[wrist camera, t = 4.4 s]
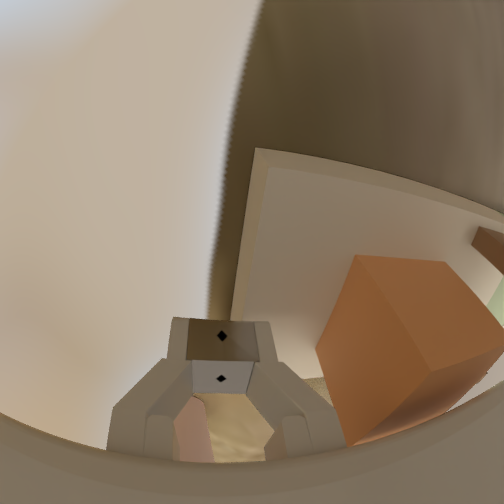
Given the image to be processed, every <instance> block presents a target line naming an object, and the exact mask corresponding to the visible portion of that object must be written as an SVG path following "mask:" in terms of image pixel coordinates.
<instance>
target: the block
mask: <svg viewBox="0 0 504 504" xmlns="http://www.w3.org/2000/svg"><path fill="white" fill-rule="evenodd" d="M315 351H316V354H317V357H318V360H319V363H320V366H321V369H322V372H323V375H324V378H325V381H326V384H327V388H328V391H329V394H330V397H331V400H332V403H333V406H334V408H335V409H336V412H337V415H338V418H339V421H340V425H341V428H342V431H343V434H344V438H345V441H346V444H347V447H351V446H355V445H358V444H362V443H366V442H369V441H373V440H376V439H379V438H382V437H386V436H389V435H392V434H394V433H397V432H400V431H403V430H406V429H408V428H411V427H413V426H416V425H419V424H421V423H423V422H426V421H428V420H430V419H433V418H435V417H437V416H439V415H442V414H444V413H445V412H446V411H447V410H449V409H450V408H451V407H452V406H453V405H454V404H455V403H456V402H457V401H458V400H460V399H461V398H462V397H463V396H464V395H465V394H466V393H467V392H468V391H469V390H470V389H471V388H472V387H473V386H474V385H475V384H476V383H477V382H478V381H479V380H480V379H481V378H482V376H483V375H484V374H485V373H486V372H487V371H488V370H489V369H490V367H492V365H493V364H494V363H495V362H496V361H497V360H498V358H499V357H500V356H501V355H502V353H503V352H504V328H503V327H502V326H501V324H500V323H499V322H498V321H497V319H496V318H495V317H494V316H493V314H492V313H491V312H490V311H489V309H488V308H487V307H486V306H485V305H484V304H483V302H482V301H481V300H480V299H479V298H478V297H477V295H476V294H475V293H474V292H473V291H472V290H471V289H470V288H469V286H468V285H467V284H466V283H465V282H464V281H463V280H462V279H461V278H460V277H459V276H458V275H457V274H456V273H455V272H454V270H453V269H452V268H451V267H450V266H449V265H448V264H447V263H446V262H442V261H430V260H418V259H406V258H393V257H381V256H368V255H355V256H354V259H353V262H352V264H351V267H350V269H349V272H348V275H347V277H346V280H345V282H344V285H343V287H342V290H341V292H340V294H339V297H338V299H337V302H336V304H335V306H334V309H333V311H332V313H331V315H330V318H329V320H328V322H327V324H326V327H325V329H324V331H323V333H322V335H321V337H320V340H319V342H318V344H317V346H316V348H315Z"/></svg>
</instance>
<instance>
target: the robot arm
mask: <svg viewBox="0 0 504 504" xmlns="http://www.w3.org/2000/svg"><path fill="white" fill-rule="evenodd" d="M193 393H230V394H246V396H247V397H248V398H249V400H250V401H251V402H252V403H253V405H254V406H255V407H256V409H257V410H258V411H259V412H260V414H261V415H262V416H263V417H264V418H265V420H266V421H267V422H268V423H269V425H270V426H271V427H272V428H273V429H274V431H275V432H274V433H273V435H272V436H271V438H270V439H269V441H268V442H267V444H266V445H265V447H264V451H265V458H266V461H254V462H231V463H208V462H185V461H180V446H179V442H178V438H177V435H176V431H175V427H174V422H173V421H174V420H175V419H176V417H177V416H178V415H179V413H180V412H181V410H182V409H183V408H184V406H185V405H186V403H187V402H188V401H189V399H190V398H191V396H192V395H193ZM0 504H504V380H503V381H501V382H500V383H498V384H496V385H495V386H493V387H492V388H490V389H488V390H487V391H485V392H483V393H482V394H480V395H478V396H477V397H475V398H473V399H471V400H469V401H468V402H466V403H464V404H462V405H460V406H458V407H456V408H454V409H452V410H450V411H448V412H446V413H444V414H442V415H439V416H437V417H435V418H433V419H430V420H428V421H426V422H423V423H421V424H419V425H416V426H413V427H411V428H408V429H406V430H403V431H400V432H397V433H394V434H392V435H389V436H386V437H382V438H379V439H376V440H373V441H369V442H366V443H362V444H358V445H355V446H351V447H347V444H346V441H345V438H344V434H343V431H342V428H341V425H340V421H339V418H338V415H337V412H336V409H335V408H334V407H333V406H331V405H330V404H329V403H328V402H327V401H326V400H325V399H323V398H322V397H321V396H320V395H319V394H318V393H317V392H316V391H314V390H313V389H312V388H311V387H310V386H309V385H308V384H307V383H306V382H304V381H303V380H302V379H301V378H300V377H299V376H298V375H297V374H296V373H295V372H294V371H293V370H291V369H290V368H289V367H288V366H287V365H286V364H285V363H284V362H278V357H277V353H276V348H275V344H274V339H273V335H272V330H271V326H270V323H269V322H268V321H229V320H221V321H220V320H207V319H195V318H190V319H189V318H180V317H173V319H172V323H171V331H170V338H169V345H168V353H167V359H164V358H162V359H161V360H160V361H159V362H158V363H157V364H156V365H155V366H154V367H153V368H152V369H151V370H150V371H149V372H148V373H147V374H146V375H145V376H144V377H143V378H142V379H141V380H140V381H139V382H138V383H137V384H136V385H135V386H134V387H133V388H132V389H131V390H130V391H129V392H128V393H127V394H126V395H125V396H124V397H123V398H122V399H121V400H120V401H119V402H118V403H117V404H116V405H115V406H114V407H113V410H112V416H111V422H110V427H109V434H108V440H107V447H106V450H103V449H99V448H94V447H91V446H87V445H83V444H80V443H76V442H73V441H70V440H67V439H63V438H60V437H57V436H54V435H52V434H49V433H46V432H43V431H41V430H38V429H36V428H33V427H31V426H28V425H26V424H24V423H21V422H19V421H17V420H15V419H12V418H10V417H8V416H6V415H4V414H2V413H0Z"/></svg>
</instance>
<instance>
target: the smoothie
mask: <svg viewBox="0 0 504 504" xmlns="http://www.w3.org/2000/svg"><path fill="white" fill-rule="evenodd" d="M173 422H174V427H175V431H176V435H177V438H178V442H179V446H180V461H185V462H208V463H215V461H214V456H213V451H212V446H211V441H210V436H209V430H208V425H207V419H206V413H205V407H204V403H203V402H202V401H201V400H200V399H198V398H196V397H193V396H191V398H190V399H189V401H188V402H187V403H186V405H185V406H184V408H183V409H182V410H181V412H180V413H179V415H178V416H177V417H176V419H175V420H174V421H173Z"/></svg>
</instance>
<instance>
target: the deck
mask: <svg viewBox="0 0 504 504" xmlns="http://www.w3.org/2000/svg"><path fill="white" fill-rule="evenodd" d="M355 255H368V256H381V257H393V258H406V259H418V260H430V261H442V262H446V263H447V264H448V265H449V266H450V267H451V268H452V269H453V270H454V272H455V273H456V274H457V275H458V276H459V277H460V278H461V279H462V280H463V281H464V282H465V283H466V284H467V285H468V286H469V288H470V289H471V290H472V291H473V292H474V293H475V294H476V295H477V297H478V298H479V299H480V300H481V301H482V302H483V304H484V305H485V306H486V307H487V308H488V309H489V311H490V312H491V313H492V314H493V316H494V317H495V318H496V319H497V321H498V322H499V323H500V324H501V326H502V327H503V328H504V214H502V213H500V212H498V211H496V210H493V209H491V208H488V207H486V206H484V205H481V204H479V203H476V202H474V201H471V200H469V199H466V198H463V197H461V196H458V195H455V194H452V193H450V192H447V191H444V190H441V189H438V188H435V187H432V186H429V185H426V184H423V183H419V182H416V181H413V180H410V179H406V178H403V177H399V176H396V175H392V174H389V173H385V172H381V171H377V170H373V169H369V168H365V167H361V166H357V165H352V164H348V163H344V162H339V161H334V160H329V159H324V158H319V157H314V156H309V155H303V154H297V153H291V152H285V151H278V150H271V149H264V148H257V147H255V153H254V159H253V166H252V172H251V179H250V185H249V192H248V198H247V205H246V212H245V218H244V225H243V232H242V239H241V245H240V252H239V259H238V266H237V273H236V280H235V288H234V295H233V302H232V309H231V317H230V321H268V322H269V323H270V326H271V330H272V335H273V339H274V344H275V348H276V353H277V357H278V362H284V363H285V364H286V365H287V366H288V367H289V368H290V369H291V370H293V371H294V372H295V373H296V374H297V375H298V376H299V377H300V378H301V379H306V378H317V377H324V375H323V372H322V369H321V366H320V363H319V360H318V357H317V354H316V351H315V348H316V346H317V344H318V342H319V340H320V337H321V335H322V333H323V331H324V329H325V327H326V324H327V322H328V320H329V318H330V315H331V313H332V311H333V309H334V306H335V304H336V302H337V299H338V297H339V294H340V292H341V290H342V287H343V285H344V282H345V280H346V277H347V275H348V272H349V269H350V267H351V264H352V262H353V259H354V256H355ZM486 374H487V372H486V373H485V374H484V375H483V376H482V378H481V379H480V380H479V381H478V382H480V381H481V380H482V379H483V378H484V376H485V375H486ZM478 382H477V383H478ZM477 383H476V384H477Z"/></svg>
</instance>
